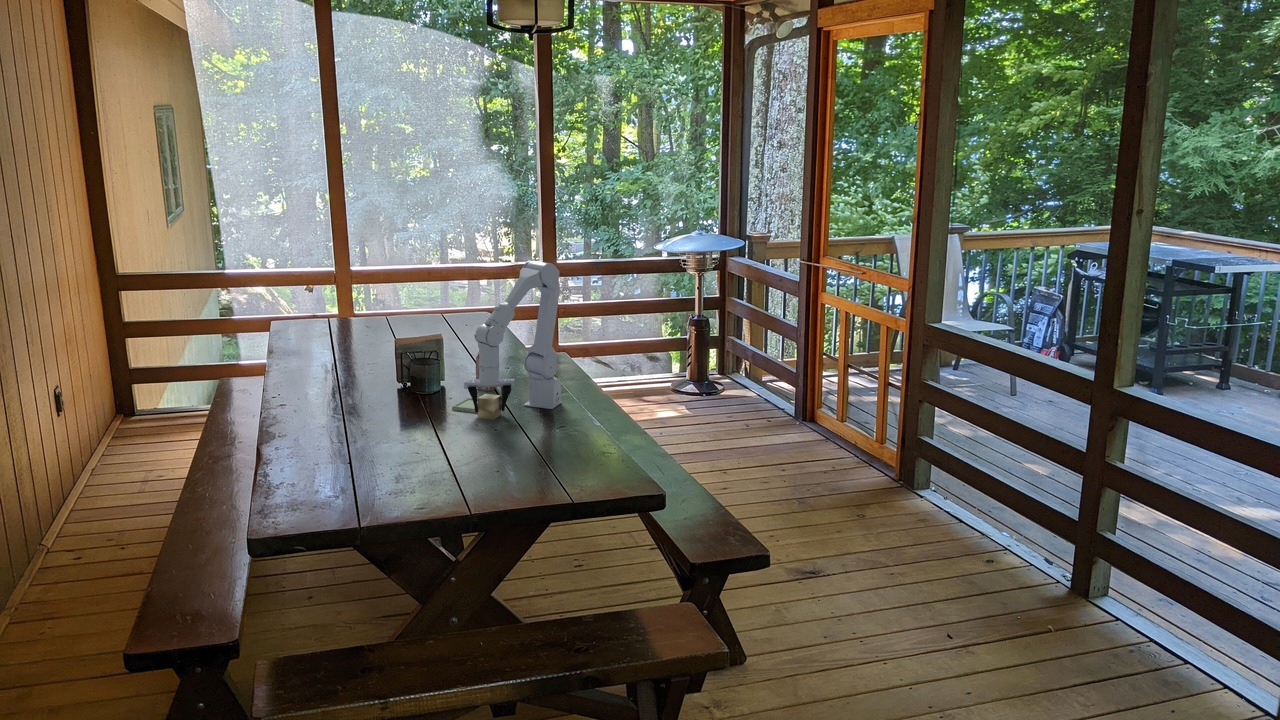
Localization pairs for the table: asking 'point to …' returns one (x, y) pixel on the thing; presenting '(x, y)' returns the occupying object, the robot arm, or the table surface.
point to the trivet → (465, 405)
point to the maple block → (489, 406)
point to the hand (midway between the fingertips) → (489, 410)
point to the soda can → (478, 376)
